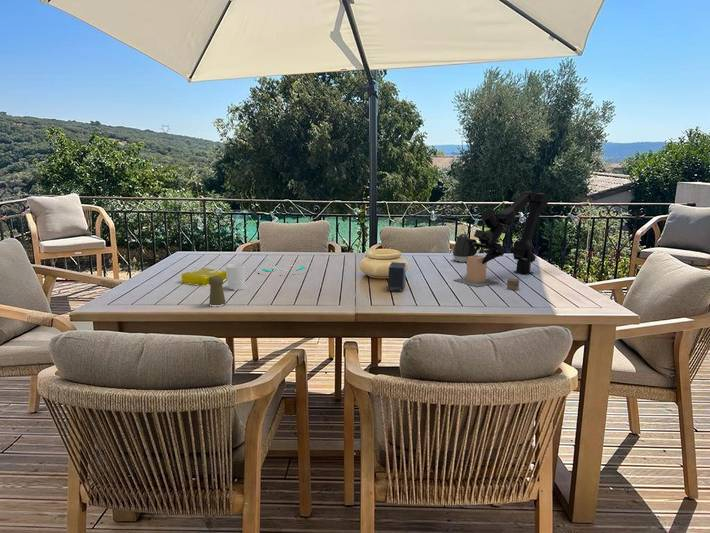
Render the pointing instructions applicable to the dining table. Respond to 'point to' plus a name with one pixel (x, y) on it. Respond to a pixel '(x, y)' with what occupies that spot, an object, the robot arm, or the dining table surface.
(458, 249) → the dark grey rounded vessel
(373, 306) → the dining table surface
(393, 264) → the small box
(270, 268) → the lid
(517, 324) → the dining table surface
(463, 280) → the rubber mat
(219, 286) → the cork
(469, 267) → the tan rectangular block
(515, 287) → the stub post
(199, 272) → the element tile
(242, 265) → the white cup
